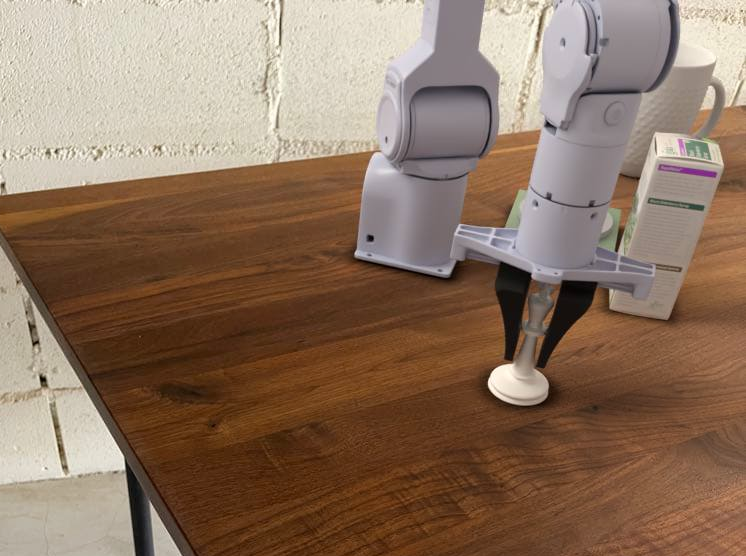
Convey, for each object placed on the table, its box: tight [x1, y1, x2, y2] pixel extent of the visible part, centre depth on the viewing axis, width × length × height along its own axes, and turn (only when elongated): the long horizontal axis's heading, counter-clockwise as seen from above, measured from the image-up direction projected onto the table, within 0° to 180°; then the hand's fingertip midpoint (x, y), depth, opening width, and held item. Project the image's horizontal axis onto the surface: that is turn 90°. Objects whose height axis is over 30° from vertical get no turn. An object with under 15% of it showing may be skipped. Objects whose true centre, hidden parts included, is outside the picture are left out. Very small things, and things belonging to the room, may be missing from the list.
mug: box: [619, 39, 726, 179], centre depth 104 cm, size 15×11×13 cm
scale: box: [504, 188, 623, 252], centre depth 91 cm, size 11×11×3 cm
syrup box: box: [608, 132, 725, 321], centre depth 79 cm, size 6×6×14 cm
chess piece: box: [487, 280, 556, 407], centre depth 69 cm, size 5×5×10 cm
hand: (525, 357), depth 70 cm, fingers closed on chess piece
